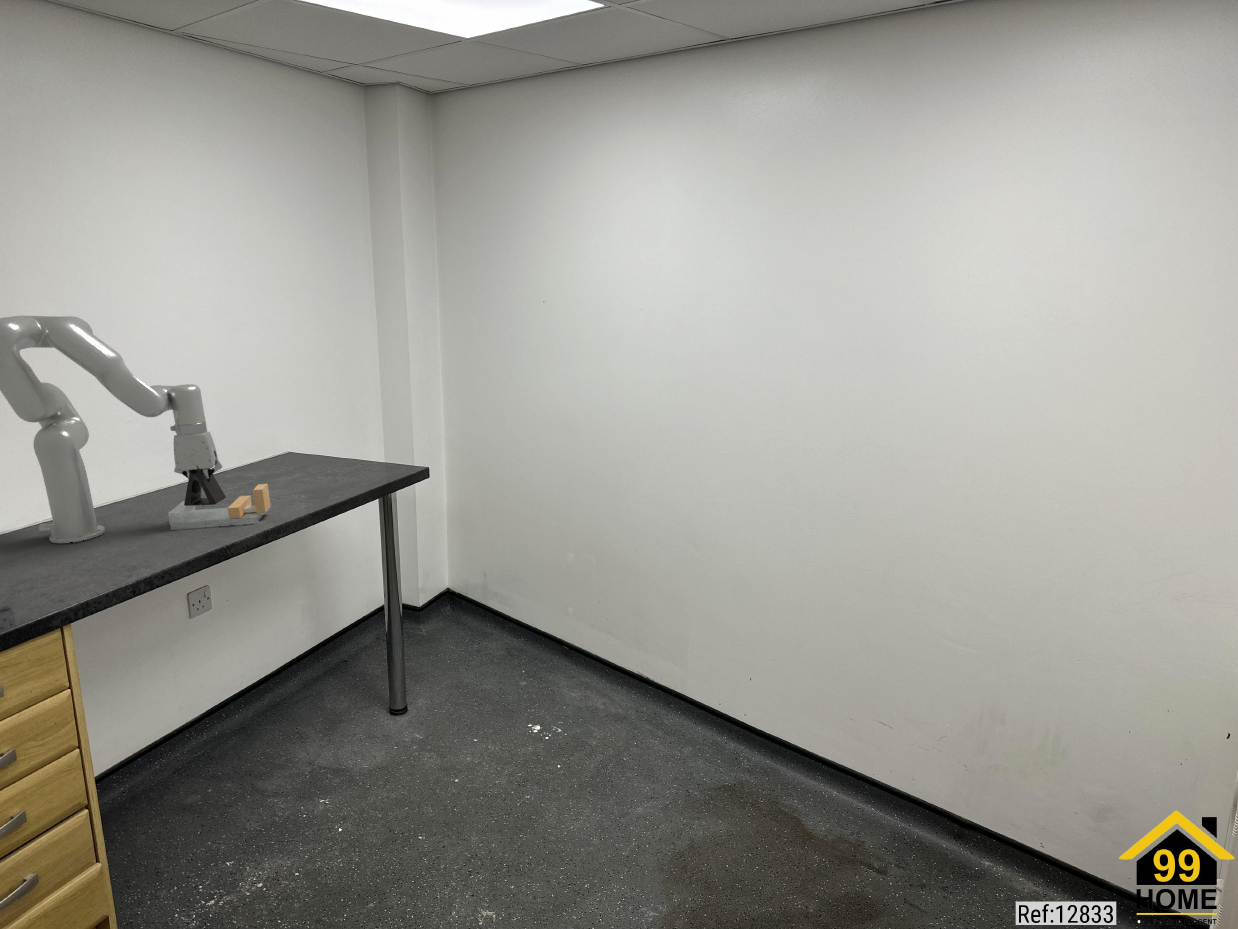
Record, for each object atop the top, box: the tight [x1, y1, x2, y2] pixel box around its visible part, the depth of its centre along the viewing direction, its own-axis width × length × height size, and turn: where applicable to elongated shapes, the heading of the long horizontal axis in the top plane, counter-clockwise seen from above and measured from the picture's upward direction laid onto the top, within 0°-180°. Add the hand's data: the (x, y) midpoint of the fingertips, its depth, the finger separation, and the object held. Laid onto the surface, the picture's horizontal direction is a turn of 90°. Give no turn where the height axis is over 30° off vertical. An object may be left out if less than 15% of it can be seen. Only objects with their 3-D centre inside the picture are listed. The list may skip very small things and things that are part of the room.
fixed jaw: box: [167, 500, 197, 524], centre depth 220 cm, size 3×12×3 cm, turn 11°
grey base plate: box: [169, 507, 266, 531], centre depth 223 cm, size 22×12×2 cm, turn 101°
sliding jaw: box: [227, 483, 272, 518], centre depth 223 cm, size 9×12×7 cm
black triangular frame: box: [184, 465, 227, 507], centre depth 220 cm, size 9×6×12 cm, turn 91°
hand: (202, 491), depth 220 cm, fingers closed on black triangular frame
